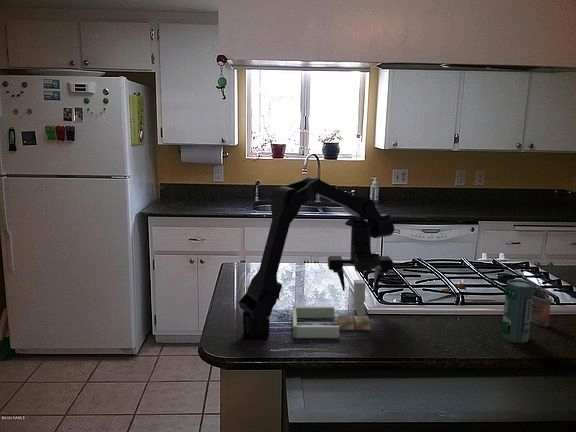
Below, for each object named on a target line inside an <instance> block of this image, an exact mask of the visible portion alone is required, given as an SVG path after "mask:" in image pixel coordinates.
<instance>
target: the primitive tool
mask: <svg viewBox="0 0 576 432" xmlns="http://www.w3.org/2000/svg"><path fill="white" fill-rule="evenodd" d="M455 286H456V287H457V288H459V289H465V290H466V291H467V287H466V286H465V284H464V283H462V282H459V283H458V284H457V285H455ZM441 290H442V291H444V292H448V291H450V287H447V288H444V289H441Z"/></svg>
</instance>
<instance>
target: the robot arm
mask: <svg viewBox="0 0 576 432" xmlns="http://www.w3.org/2000/svg"><path fill="white" fill-rule="evenodd" d="M315 195H317V196H319V197H321V198H323V199H325V200H328V201H331V202H333V203H335V204H337V205H339V206H341V207H342V208H343V209H344V210H345V211H346V212H347V213H349V214H350V215H352V216H354V217H352V216H351V217H350V218H349V219H347V220H346V221H345V223H344V225H345V226H347V227H351V229H350V230H351V232H350V259H343V258H342V256H341V255H329V256H328V257H327V266H328V271H329V270H330V271H333V273H334V274H335V273H336V274H337V276H338V278H339V281H340V285H341V289H342V291H343V292H345V290H346V289H345V288H346V287H345V285H346V284H345V274H344V272H345V271H344V269H343V268H344V267H354V270H355V271H356V272H358V273H359V272H368V273H371V272H372V271H373V268H374V277H373V292H376V291H377V289H378V285H379V283H380V281H381V279H382V277H383V276H384V275H385V274H387V273H389V271H393V270H394V267H395V266H394V261H393V260H392V259H391V257H390V256H388V255H384V256H382V255H380V253H372V251H371V250H372V249H371V247H372V246H371V244H372V243H371V242H372V239H377V238H378V239H379V238H386V237H390V236H392V235H393V234H394V232H395V226H394V223H393V220H392V219H391V218H390V217H391V214H388V213H382V214H380V212H379V211H378V209H377V207H376V202H375V201H374V199H372V198H368V197H362V196H358V195H353V194H350V193H349V192H347V191H344V190H342V189H341V188H338V187H336V186H334V185H332V184H329V183H327V182H325V181H323V180H321V178H318V177H314V176H308V177H306V178H304V179H300V180H299V181H295V182H293V183H290V184H287V185H286V186H284V185H283V186H281V185H280V186H278V187H276V188H275V189H274V190H273V191H272V193H271V202H270V211H271V216H272V217H271V218H272V219H271V223H270V227H269V231H268V235H267V239H266V242H265V246H264V251H263V254H262V258H261V262H260V266H259V269H258V271H257V273H255V274H254V276H253V277H252V279H251V280H250V283H249V285H248V287H247V290H246V293H245V294H243V296H242V297H241V298H240V300H239V301H238V305H239V307H240V309H241V310H242V311H243V312H242V336H241V337H242V338H241V339H242V340H267V339H268V335H269V334H270V332H271V329H270V328H271V327H270V324H271V323H270V321H271V320H270V318H271V315H272V311H273V308H274V306H275V305H276V303H277V301H278V300H280V293H281V290H282V289H283V284H282V283H281V282H279V281H278V278H277V276H278V275H277V274H278V272H279V268H280V263H281V260H282V257H283V252H284V249H285V244H286V240H287V238H288V233H289V229H290V226H291V223H292V221H294V219H295V218H296V217H297V216H298V215H299V212H300V209H301V207H302V205H304V204H305V203H307V202H308V201H310V200H311V199H312V198H313V197H314V196H315ZM356 217H359V218H356ZM371 238H372V239H371Z"/></svg>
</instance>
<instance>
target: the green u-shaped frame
mask: <svg viewBox="0 0 576 432" xmlns="http://www.w3.org/2000/svg"><path fill="white" fill-rule="evenodd" d="M299 318H300V319H303V318H304V319H305V318H306V319H308V318H309V319H310V318H311V319H313V318H314V319H316V318H317V319H319V318H320V319H321V318H322V319H324V318H325V319H328V318H329V319H332V318H333V319H335V306H292V338H293V339H339V338H340V330H339V326H338V325H298V321H297V320H298V319H299Z"/></svg>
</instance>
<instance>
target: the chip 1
mask: <svg viewBox="0 0 576 432" xmlns="http://www.w3.org/2000/svg"><path fill="white" fill-rule="evenodd" d="M336 317H337V319H336V322H337V323H336V324H337V325H336V326H339V331H348V330H349V331H350V330H351V331H354V330H355V327H354V321H353V316H352V315H337V316H336Z"/></svg>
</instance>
